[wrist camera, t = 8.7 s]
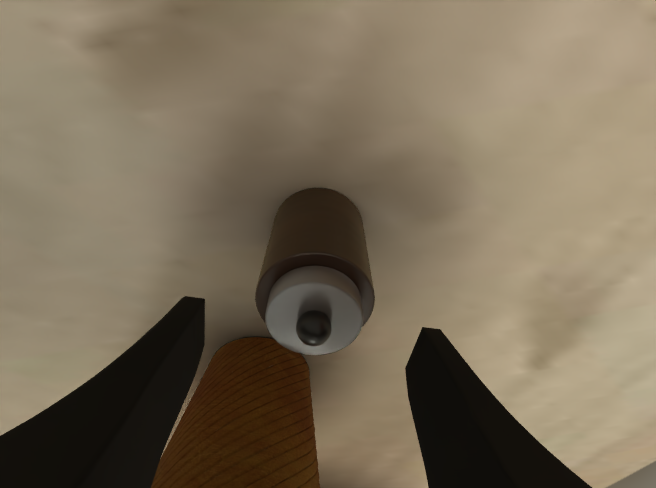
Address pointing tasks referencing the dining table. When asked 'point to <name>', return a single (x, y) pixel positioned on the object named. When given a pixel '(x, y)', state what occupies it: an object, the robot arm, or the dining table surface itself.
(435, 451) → the robot arm
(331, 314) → the pepper mill
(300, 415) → the disposable coffee cup
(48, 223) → the dining table surface
